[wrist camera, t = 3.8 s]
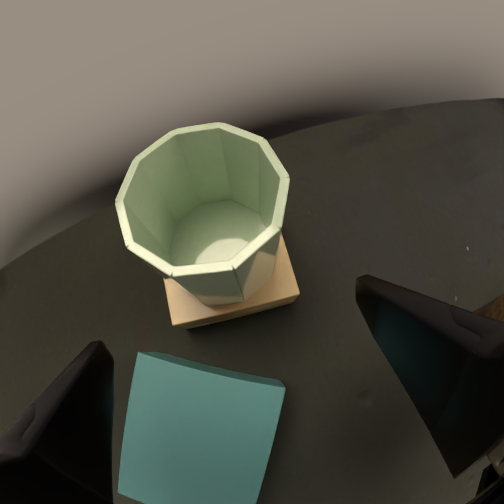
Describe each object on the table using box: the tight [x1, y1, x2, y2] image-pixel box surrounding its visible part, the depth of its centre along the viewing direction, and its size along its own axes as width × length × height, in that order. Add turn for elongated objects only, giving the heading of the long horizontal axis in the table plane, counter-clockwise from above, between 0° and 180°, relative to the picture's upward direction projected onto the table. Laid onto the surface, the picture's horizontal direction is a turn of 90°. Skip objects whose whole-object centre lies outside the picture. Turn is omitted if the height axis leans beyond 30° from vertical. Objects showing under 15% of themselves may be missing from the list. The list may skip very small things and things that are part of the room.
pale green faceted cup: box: [115, 122, 290, 306], centre depth 15 cm, size 7×7×8 cm
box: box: [118, 352, 286, 504], centre depth 16 cm, size 9×11×4 cm
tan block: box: [164, 233, 300, 329], centre depth 20 cm, size 8×8×4 cm
